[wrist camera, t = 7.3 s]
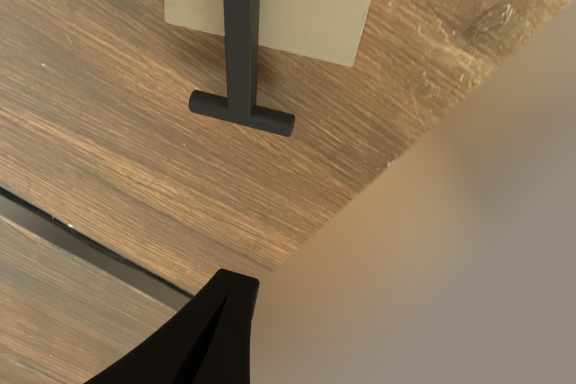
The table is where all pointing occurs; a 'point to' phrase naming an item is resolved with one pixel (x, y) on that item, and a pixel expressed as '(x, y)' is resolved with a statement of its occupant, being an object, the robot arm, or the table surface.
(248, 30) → the lever
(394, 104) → the table surface
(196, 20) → the bracket
